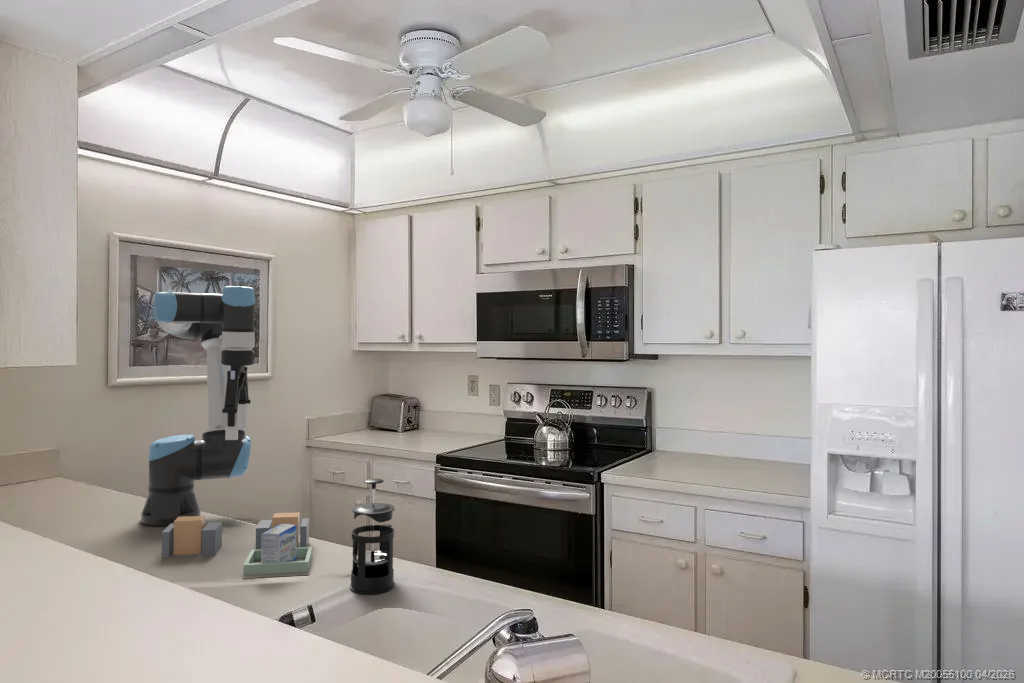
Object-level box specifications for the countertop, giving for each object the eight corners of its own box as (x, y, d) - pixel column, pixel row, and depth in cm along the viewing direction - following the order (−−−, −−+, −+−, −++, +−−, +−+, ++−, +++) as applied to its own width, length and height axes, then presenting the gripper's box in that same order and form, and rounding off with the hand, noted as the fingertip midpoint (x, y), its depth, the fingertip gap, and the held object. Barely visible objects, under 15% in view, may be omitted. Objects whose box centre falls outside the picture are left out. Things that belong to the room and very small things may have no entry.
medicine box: (278, 573, 150) (279, 534, 150) (260, 571, 151) (260, 532, 151) (296, 561, 158) (297, 524, 158) (279, 559, 159) (279, 523, 159)
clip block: (170, 552, 165) (170, 523, 165) (308, 545, 171) (309, 518, 171) (161, 562, 158) (162, 532, 158) (306, 555, 165) (306, 526, 164)
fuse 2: (274, 545, 168) (274, 513, 168) (299, 544, 169) (299, 512, 169) (271, 550, 164) (272, 517, 164) (297, 549, 166) (298, 516, 165)
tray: (251, 562, 158) (251, 549, 158) (312, 559, 161) (312, 546, 161) (243, 579, 148) (243, 565, 148) (308, 575, 151) (308, 561, 151)
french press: (378, 598, 139) (380, 486, 138) (339, 592, 142) (340, 482, 141) (406, 579, 150) (407, 475, 149) (369, 573, 153) (370, 471, 153)
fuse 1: (178, 549, 164) (178, 516, 164) (204, 548, 165) (205, 515, 165) (173, 555, 160) (173, 521, 160) (200, 553, 161) (201, 520, 161)
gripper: (230, 345, 179) (229, 425, 180) (210, 352, 154) (209, 444, 155) (261, 346, 180) (259, 425, 181) (246, 352, 156) (244, 444, 157)
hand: (236, 434), depth 168 cm, fingers open, 13 cm apart
